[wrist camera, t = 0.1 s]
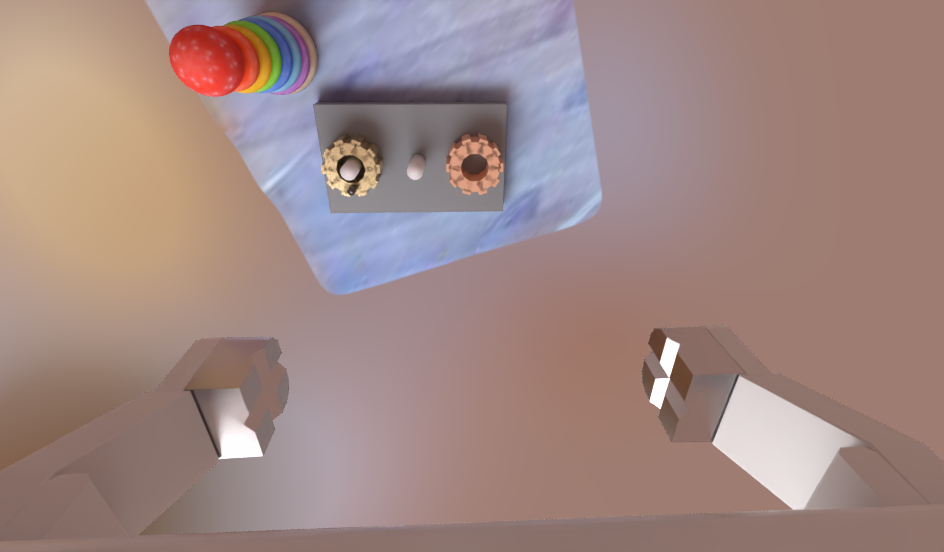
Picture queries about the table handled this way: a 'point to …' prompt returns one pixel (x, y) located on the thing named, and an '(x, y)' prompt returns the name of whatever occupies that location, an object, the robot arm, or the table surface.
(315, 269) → the table surface
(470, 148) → the loose gear
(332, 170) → the gear
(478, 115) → the gear board
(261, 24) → the stacking toy
